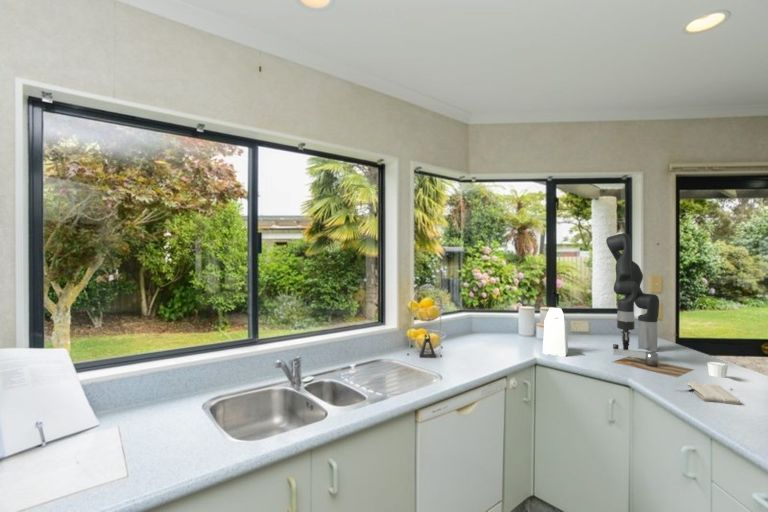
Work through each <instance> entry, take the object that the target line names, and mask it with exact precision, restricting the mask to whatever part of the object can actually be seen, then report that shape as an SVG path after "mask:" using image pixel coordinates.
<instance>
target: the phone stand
mask: <svg viewBox="0 0 768 512" xmlns="http://www.w3.org/2000/svg"><path fill="white" fill-rule="evenodd" d="M427 336H428V337H427ZM427 343H428V344H429V345H428V346H429V348H430V352H431V353H430V354H429V353H425V350H426V346H427ZM418 355H419V358H420V359H428V358H430V359H436V358H437V356H436V354H435V351H434V347H433V345H432V342H431V335H430V334H429V333H428V334H427V333H426V334H424V340H423V343H422V346H421V348H420V351H419V354H418Z"/></svg>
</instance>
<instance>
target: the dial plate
mask: <svg viewBox="0 0 768 512" xmlns="http://www.w3.org/2000/svg"><path fill="white" fill-rule="evenodd" d="M612 363H613V364H618V365H622V366H628V367H632V368H636V369H640V370H643V371H644V370H645V371H647V372H652V373H657V374H661V375H665V376H670V377H674V378H679V377H681V376H683V375H686V374H687V373H690V372H692V371H694V370H695V369H694V368H688V367H684V366H681V365H680V366H679V365H674V364H670V363H666V362H665V363H664V362H661V361H658V366H656V367H654V366H648V365H645V359H644V358H637V357H629V356H624V357H621V358H620V359H617V360H614V361H612Z"/></svg>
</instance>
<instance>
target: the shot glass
mask: <svg viewBox="0 0 768 512" xmlns="http://www.w3.org/2000/svg"><path fill="white" fill-rule="evenodd" d="M706 363H707V371H708V376H711V377H714V378H721V379H722V378H723V379H725V378H727V372H728V364H726V363H723V362H717V361H707V362H706Z"/></svg>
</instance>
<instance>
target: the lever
mask: <svg viewBox="0 0 768 512" xmlns="http://www.w3.org/2000/svg"><path fill="white" fill-rule="evenodd" d="M612 349H613V351H612V352H613V353H612V354H613V356H614V355H616V356H622V357H628V356H629V357H637V358H642V359H645V365H648V366H654V367H656V366H658V362H659V361H658V360H659V359H658V357H659V356H658V353H657V352H651V351H642V350H634V349H628V350H627V349H623V348H619V344H617V343H613V344H612Z"/></svg>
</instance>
